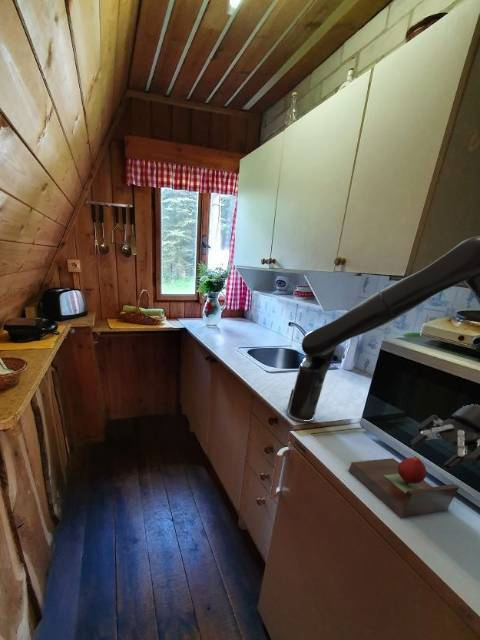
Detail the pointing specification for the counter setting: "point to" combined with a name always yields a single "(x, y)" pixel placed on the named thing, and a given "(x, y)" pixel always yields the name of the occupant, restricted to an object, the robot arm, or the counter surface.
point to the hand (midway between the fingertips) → (428, 456)
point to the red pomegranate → (412, 470)
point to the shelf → (401, 488)
